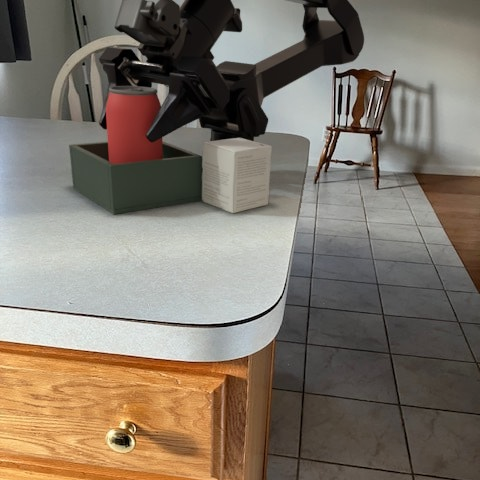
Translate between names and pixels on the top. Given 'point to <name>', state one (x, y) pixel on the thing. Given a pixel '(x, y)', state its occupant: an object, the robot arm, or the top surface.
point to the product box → (236, 174)
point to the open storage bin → (136, 178)
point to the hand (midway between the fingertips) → (124, 133)
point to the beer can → (132, 124)
